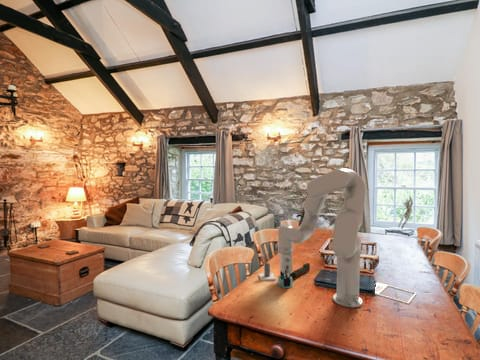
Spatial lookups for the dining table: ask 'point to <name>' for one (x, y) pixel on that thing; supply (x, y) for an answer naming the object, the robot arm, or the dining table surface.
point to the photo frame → (382, 287)
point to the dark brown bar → (300, 271)
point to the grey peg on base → (267, 274)
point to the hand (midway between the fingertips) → (285, 282)
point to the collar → (281, 281)
